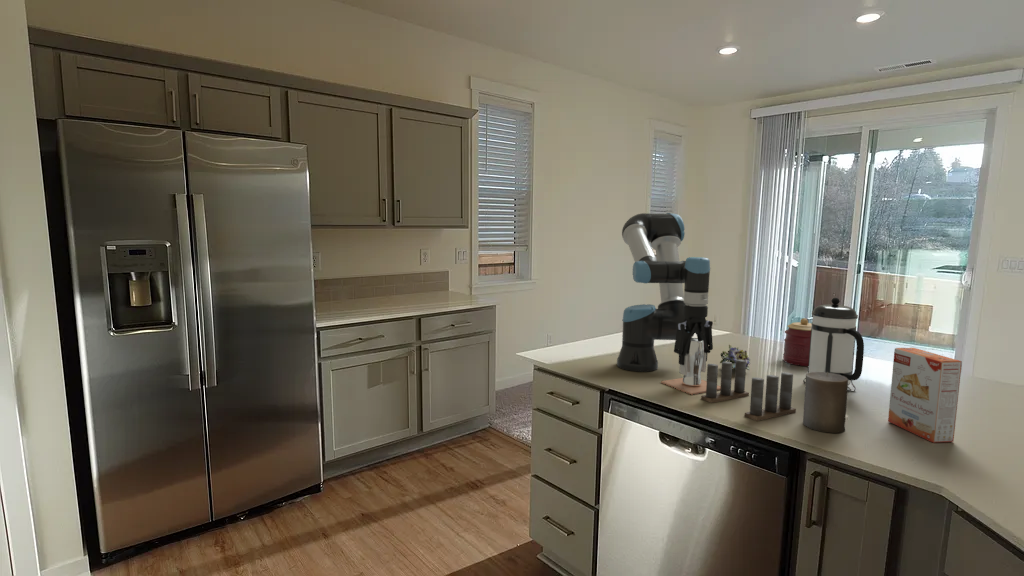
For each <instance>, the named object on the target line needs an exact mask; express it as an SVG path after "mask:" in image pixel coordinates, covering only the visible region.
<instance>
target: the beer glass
mask: <svg viewBox="0 0 1024 576" xmlns="http://www.w3.org/2000/svg"><path fill="white" fill-rule="evenodd" d="M682 351H683V350H682ZM686 355H688V365H687V375H683V377H682V378H683V380H682V383H683V384H685V385H688V386H700V385H701V384H702V383H701V380H702V378H701V376H702V375H701V373H702V372H701V369H702V364H703V360H704V340H703V341H698V338H697V337H692V338H691V341H690V344H689V347H688V350H687V353H686Z"/></svg>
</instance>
